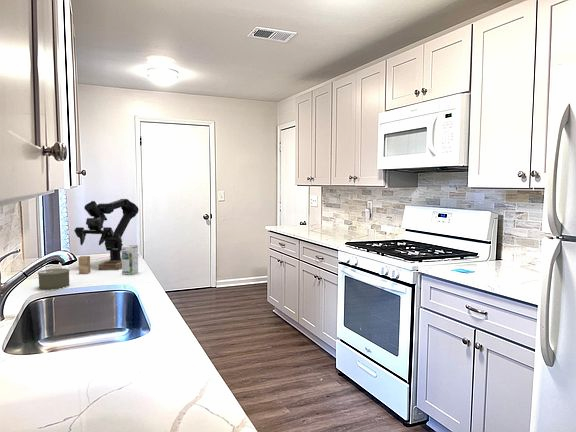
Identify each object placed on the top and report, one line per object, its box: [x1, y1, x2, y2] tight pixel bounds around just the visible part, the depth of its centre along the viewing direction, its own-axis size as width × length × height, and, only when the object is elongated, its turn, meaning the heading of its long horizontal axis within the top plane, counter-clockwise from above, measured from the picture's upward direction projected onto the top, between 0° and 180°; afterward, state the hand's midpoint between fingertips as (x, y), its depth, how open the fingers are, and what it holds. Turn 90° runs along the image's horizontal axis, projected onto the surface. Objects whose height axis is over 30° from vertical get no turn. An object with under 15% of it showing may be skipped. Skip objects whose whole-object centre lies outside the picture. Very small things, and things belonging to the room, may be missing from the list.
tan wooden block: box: [78, 255, 92, 275], centre depth 206 cm, size 4×4×8 cm
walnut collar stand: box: [98, 260, 122, 271], centre depth 219 cm, size 10×10×3 cm
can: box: [37, 268, 70, 291], centre depth 179 cm, size 12×12×7 cm
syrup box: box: [121, 244, 139, 276], centre depth 205 cm, size 6×6×14 cm
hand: (90, 244), depth 213 cm, fingers open, 9 cm apart
